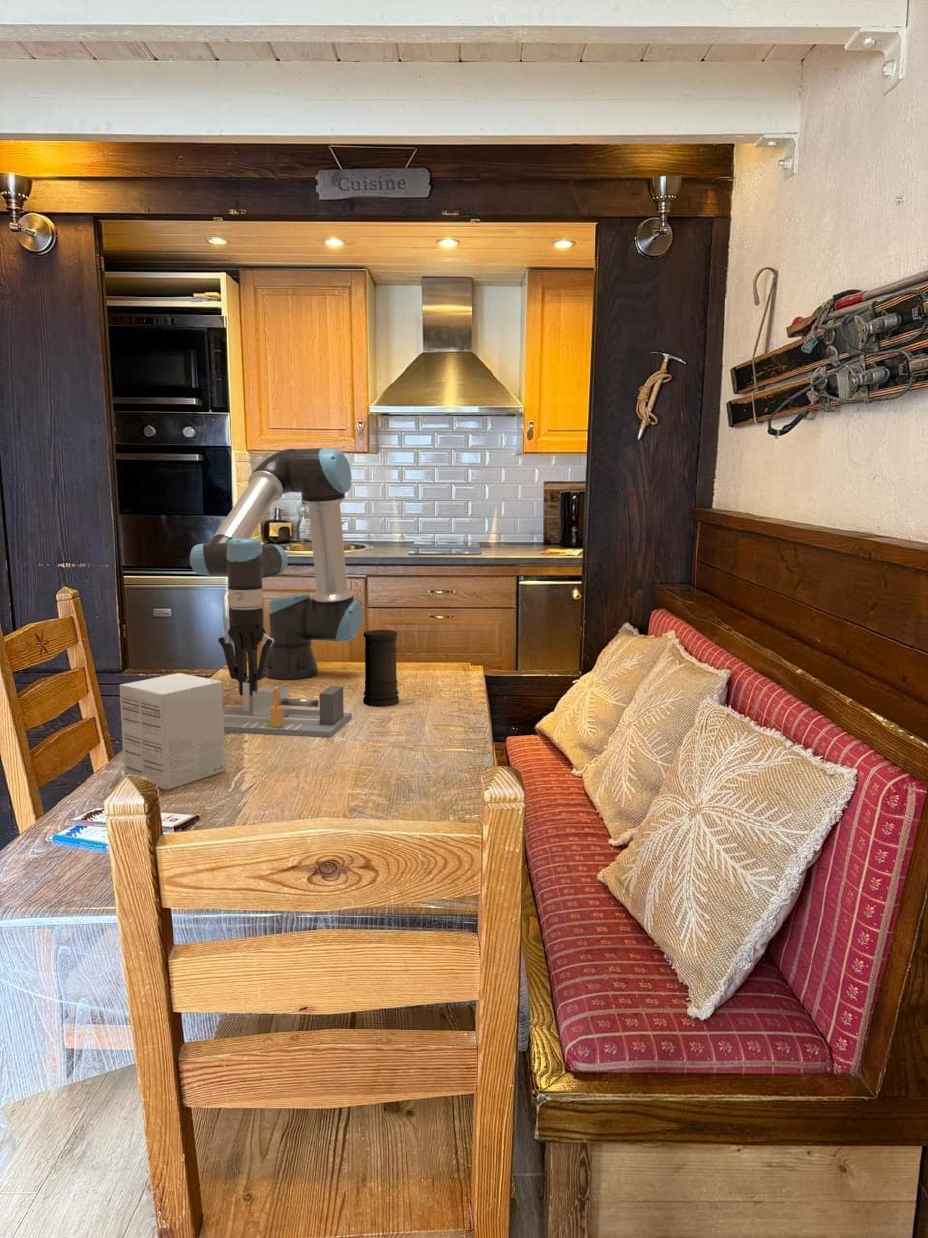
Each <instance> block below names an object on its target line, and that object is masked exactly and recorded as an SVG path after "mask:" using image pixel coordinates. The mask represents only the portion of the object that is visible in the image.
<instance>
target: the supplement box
mask: <svg viewBox="0 0 928 1238" xmlns="http://www.w3.org/2000/svg"><path fill="white" fill-rule="evenodd" d="M118 686H119V701H120V702H119V704H120V717H121V719H120V720H121V721H120V722H121V738H122V742H121V743H122V759H123V760H122V761H123V774H124V775H128V774H131V775H139V776H143V777H146V778H148V779H149V780H151V781H153V782H155V783H157V785H158V786H159V788H158V789H161V790H165V791H168V790H171V789H174V788H177V787H178V788H179V787H180V786H184V785H187V784H189V783H193V782H196V781H199V780H202V779H205V778H208V777H211V776H214V775H218V774H221V773H224V772H225V771H226V770H227V769H226V768H227V767H226V764H227V763H226V746H225V732H224V719H223V707H224V701H223V699H224V698H223V695H224V694H223V681H221V680H217V679H212V678H207V677H202V676H196V675H192V674H186V673H180V672H177V673H176V672H175V673H173V674H168V675H163V676H157V677H153V678H152V677H151V678H148V679H143V680H138V681H134V682H128V683H122V684H119V685H118Z"/></svg>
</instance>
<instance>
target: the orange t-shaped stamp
mask: <svg viewBox="0 0 928 1238" xmlns="http://www.w3.org/2000/svg"><path fill="white" fill-rule="evenodd" d="M273 699H274V706H273V707H272V708H270V719H271V726H272V727H280V726H281V725H283V706H279V687H275V688H274V689H273Z"/></svg>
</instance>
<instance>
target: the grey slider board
mask: <svg viewBox="0 0 928 1238" xmlns="http://www.w3.org/2000/svg"><path fill="white" fill-rule="evenodd" d="M318 695H319V699H318V700H319V708H301V707H297V708H296V707H290V713H289V714H288V715H286V716H285V717H283V725H281V726H280V727H272V726H271V719H270V718H265V717H258V716H253V709H252V710H250V711H243V705H233V704H231V705H230V704H229V705H228V704H226V705H223V719H224V733H239V734H241V733H242V734H257V735H258V734H260V735H263V734H264V735H277V736H279V735H281V736H299V737H321V738H324V737H325V738H331V737H333V736H334V735H335V734H336V733H337V732H338V731H339V730H340V729H341V728H343V727H344V726H345V724H347V723H348V722H349V721H351V719H352V717H353V716H352V715H353V714H352V712H344V686H343V685H342V686H341V685H340V686H338V685H337V686H336V685H329V687H327V688H325V689H324V690H323V691H321V692H320V693H319V694H318Z"/></svg>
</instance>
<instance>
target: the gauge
mask: <svg viewBox="0 0 928 1238" xmlns="http://www.w3.org/2000/svg"><path fill="white" fill-rule="evenodd" d="M275 687H279V706H283V717H285V716H286V715H288V714H289V713H290V708H291V707H314V708H319V707H320V703H319V699H310V698H309V699H307V698H290V685H283V684H263V685H262V686H259V687H257V689H256V690H254V691H252V697H253V716H258V717H265V718H270V708H272V707H273V706H274V699H273V689H274V688H275Z"/></svg>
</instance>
